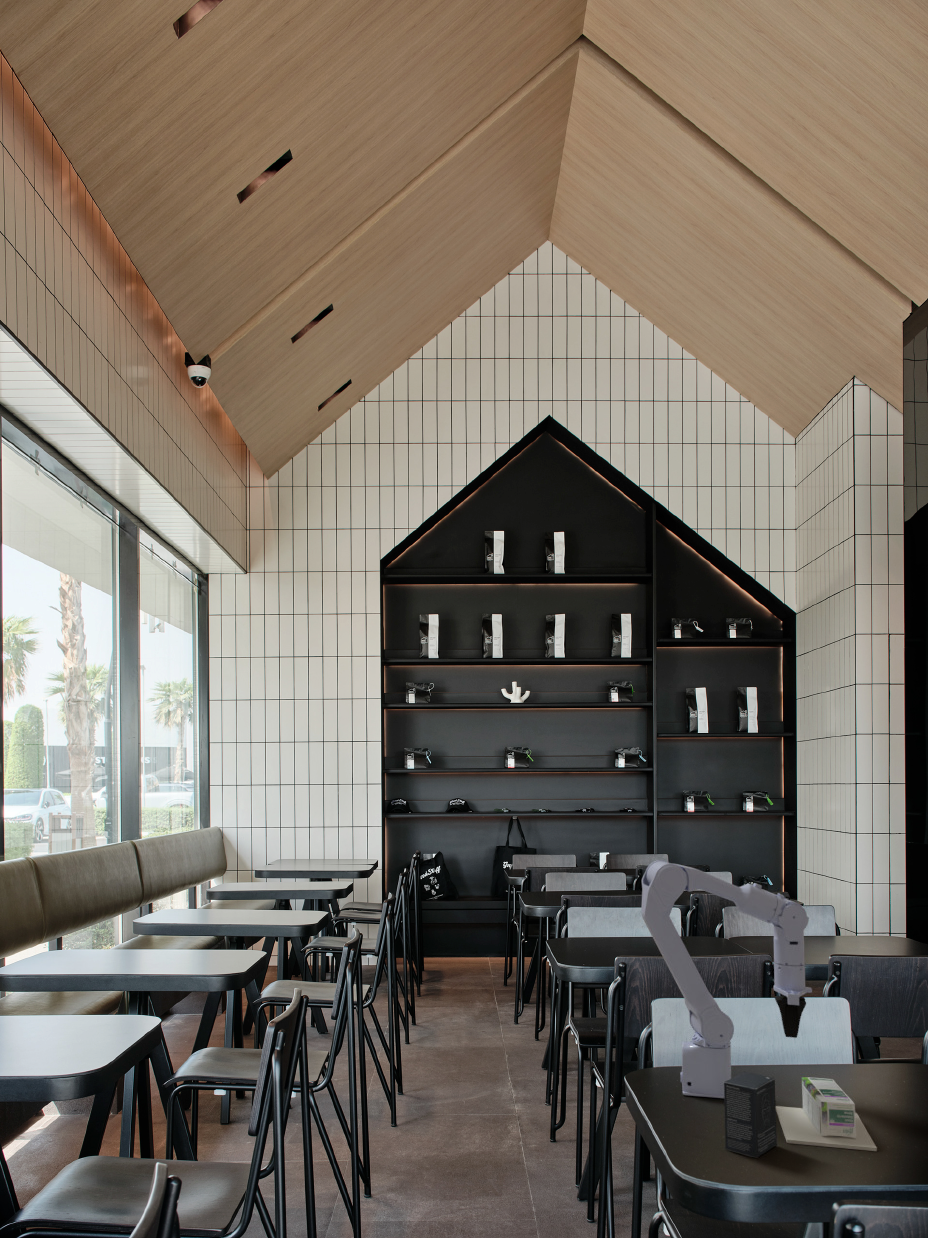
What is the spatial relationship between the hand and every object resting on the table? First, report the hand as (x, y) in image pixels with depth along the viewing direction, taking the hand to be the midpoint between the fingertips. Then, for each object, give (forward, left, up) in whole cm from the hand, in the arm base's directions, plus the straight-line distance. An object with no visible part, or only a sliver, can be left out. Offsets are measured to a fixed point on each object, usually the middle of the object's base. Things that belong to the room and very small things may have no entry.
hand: (791, 1036), depth 195 cm
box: (-10, -33, -11) cm, 36 cm away
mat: (+3, -20, -10) cm, 22 cm away
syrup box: (+3, -11, -7) cm, 14 cm away
